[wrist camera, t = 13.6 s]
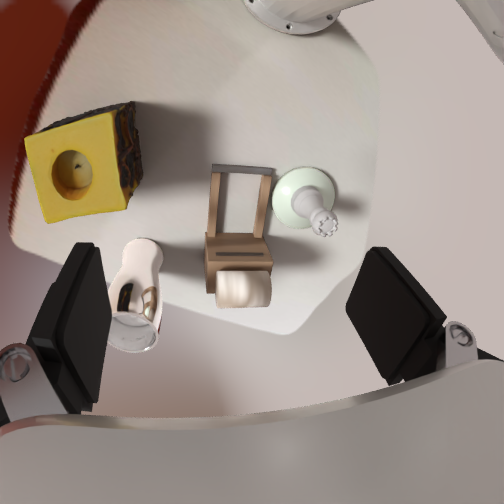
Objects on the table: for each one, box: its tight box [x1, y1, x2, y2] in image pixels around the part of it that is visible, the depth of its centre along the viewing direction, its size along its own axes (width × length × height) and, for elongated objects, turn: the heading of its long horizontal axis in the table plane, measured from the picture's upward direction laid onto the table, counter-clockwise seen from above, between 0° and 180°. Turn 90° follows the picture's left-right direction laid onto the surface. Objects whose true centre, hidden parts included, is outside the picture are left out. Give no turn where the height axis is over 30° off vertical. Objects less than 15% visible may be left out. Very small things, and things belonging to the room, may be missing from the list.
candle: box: [24, 101, 143, 224], centre depth 27 cm, size 10×10×10 cm
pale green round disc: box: [271, 167, 335, 229], centre depth 40 cm, size 9×9×1 cm
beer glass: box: [107, 238, 163, 353], centre depth 35 cm, size 7×7×15 cm
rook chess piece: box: [291, 185, 338, 237], centre depth 36 cm, size 4×4×8 cm
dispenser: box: [204, 164, 273, 308], centre depth 36 cm, size 15×8×11 cm, turn 172°
